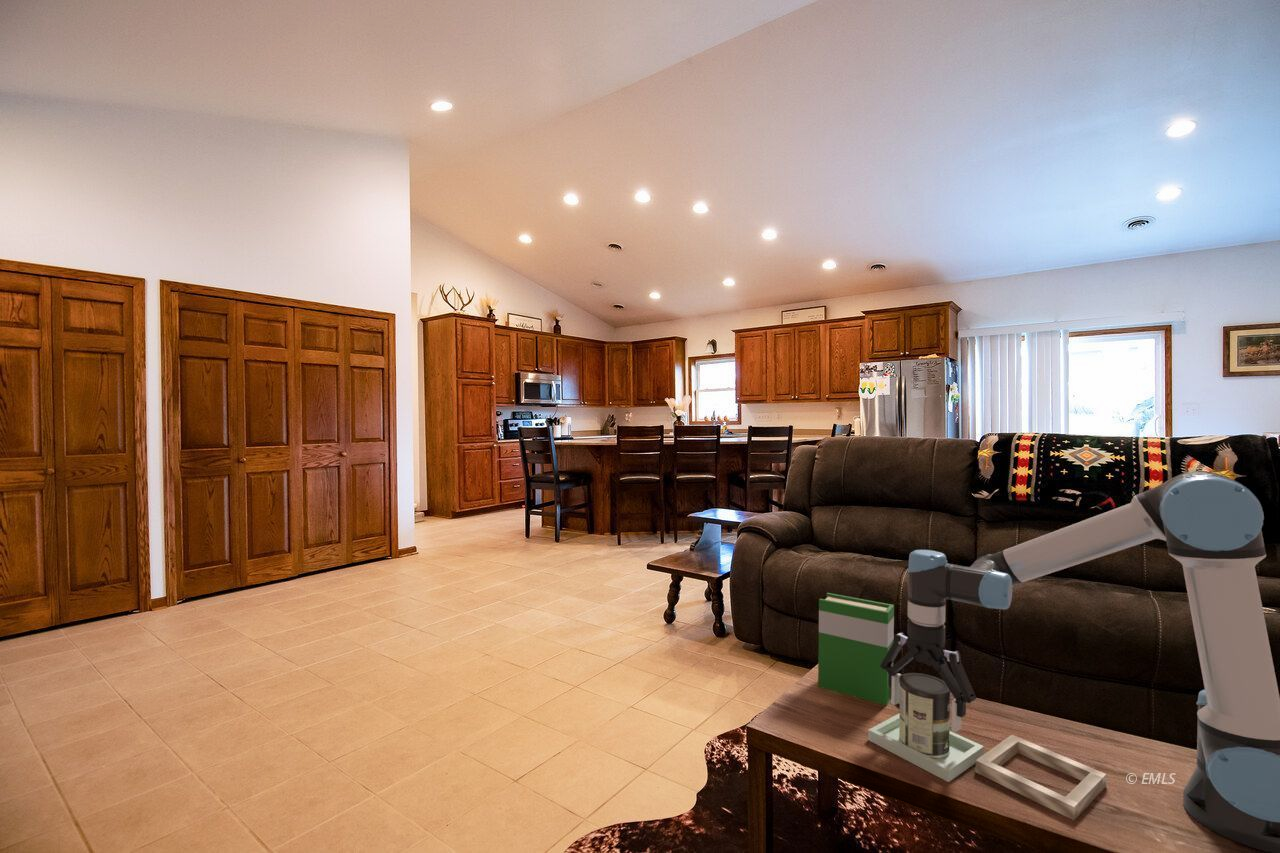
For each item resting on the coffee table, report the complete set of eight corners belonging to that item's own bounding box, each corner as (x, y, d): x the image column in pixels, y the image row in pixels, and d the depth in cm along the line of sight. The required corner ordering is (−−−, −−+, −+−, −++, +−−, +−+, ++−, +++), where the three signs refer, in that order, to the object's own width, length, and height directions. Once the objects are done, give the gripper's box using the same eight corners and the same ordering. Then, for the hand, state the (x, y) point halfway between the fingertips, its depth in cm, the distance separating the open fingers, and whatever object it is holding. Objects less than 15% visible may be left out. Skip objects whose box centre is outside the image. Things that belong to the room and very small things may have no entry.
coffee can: (941, 735, 129) (942, 674, 129) (956, 762, 119) (957, 696, 119) (893, 729, 131) (894, 670, 131) (904, 755, 121) (905, 691, 121)
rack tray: (983, 757, 122) (983, 746, 122) (948, 782, 113) (948, 770, 113) (904, 720, 137) (904, 710, 137) (868, 740, 128) (868, 729, 128)
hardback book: (818, 686, 154) (819, 599, 154) (826, 676, 160) (827, 592, 160) (886, 705, 144) (887, 612, 143) (892, 694, 150) (894, 604, 149)
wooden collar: (1106, 786, 112) (1106, 774, 112) (1074, 820, 103) (1074, 807, 103) (1011, 745, 126) (1011, 734, 126) (975, 772, 117) (975, 760, 117)
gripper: (995, 635, 116) (993, 736, 117) (883, 602, 137) (882, 688, 137) (977, 643, 112) (976, 748, 112) (865, 608, 133) (864, 697, 133)
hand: (924, 716), depth 125 cm, fingers open, 13 cm apart
